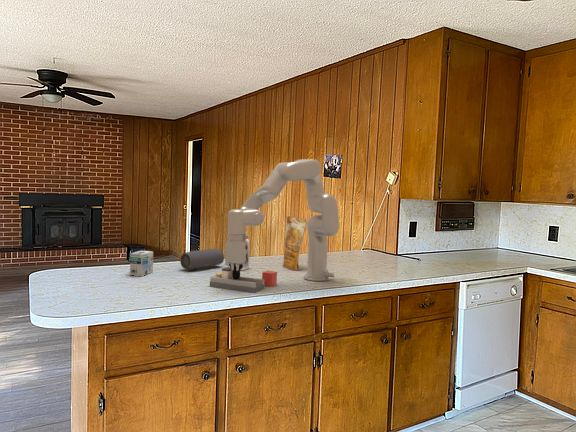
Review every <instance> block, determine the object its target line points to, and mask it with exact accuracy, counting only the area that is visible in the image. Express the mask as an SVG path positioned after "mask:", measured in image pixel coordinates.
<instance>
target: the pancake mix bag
mask: <svg viewBox="0 0 576 432" xmlns="http://www.w3.org/2000/svg"><path fill="white" fill-rule="evenodd" d="M285 219H286V224H285V225H286V226H285V237H284V252H283V253H284V254H283V264H282V266H283V267H284V268H285V269H288V270H290V271H299V268H300V267H299V258H300V252H301V247H302V242H303V239H304V233H305V230H306V227H307V220H306V219H304V218H300V217H299V218H298V217H295V216H286V218H285Z"/></svg>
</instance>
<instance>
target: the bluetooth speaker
mask: <svg viewBox="0 0 576 432" xmlns="http://www.w3.org/2000/svg"><path fill="white" fill-rule="evenodd" d="M179 261H180V262H179V263H180V265H181V267H182V268H183V269H185V270H194V271H201V270H202V271H203V270H206V269H211V268H212V267H214V266H218V265H221V264H223V262H225V253H224V252H223V250H222V249H219V248H208V249H200V250H192V251H188V252H187V251H186V252H183V253H182V254H181V256H180V259H179Z"/></svg>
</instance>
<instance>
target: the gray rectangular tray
mask: <svg viewBox="0 0 576 432" xmlns="http://www.w3.org/2000/svg"><path fill="white" fill-rule="evenodd" d="M209 278H210V279H209V287H211V288H212V287H213V288H219V289H224V290H225V289H226V290H231V291H239V292H245V293H253V294H255V293H256V292H257V293H258V292H259V291H261V290H263V289H265V287H266V286H265V284H264V279H262V278H255V277H249V276H248V277H247V276H243V275H242V276H241V275H240V278H239V279H237V280H235V279H234V280H232V279H225V278H222V272H216V273H215V275H213V276H211V277H209Z"/></svg>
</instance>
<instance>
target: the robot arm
mask: <svg viewBox="0 0 576 432" xmlns="http://www.w3.org/2000/svg"><path fill="white" fill-rule="evenodd" d="M322 167H323V166H322V164H321V162H320V161H319V160H317V159H315V158H313V159H312V158H310V159H308V158H306V159H304V158H303V159H296V160H294V161H289V162H286V161H283V162H280V163H278V164H276V166H275V167H274V169H272V171H271V172H270V174H269V175H268V177H267V179H266V180H265V181H264V183H263V184H262V185H261V186H260V187H259V188H258V189H256V191H254V192H253V193H251V195H250V196H249V197H248V198H247V199H246V200H245V201H244V202H243V205H241V207H240V209H239V208H238V209H236V208H235V209H230V210H229V211H228V212H227V213H228V214H227V240H226V242H225V248H224V264H225V265H226V266H227V267H230V268H231V270H233V275H232V276H233V279H235V280H237V279H239V278H240V276H241V271H242V270H241V269H242V268H243V267H247V266H248V263H247V262H249V263H250V249H249V250H248V243H247V241H245V240H246V239H248V240H249V237H248V235H246V234H247V233H246V226H250V227H257V226H260V225H262V224H263V222H264V221H265V216H264V215H265V214H264V213H263V212H262V211H261V210H260V208H261V207H262V206H263V205H265V204H267V203H269V202H271V201H273V200H275V199H276V198H278V197H279V195H280V194H281V192H282V191H283V189H284V188H285V187H286V185H287V183H288V182H298V181H302V182H303V183H304V186H305V193H306V201H307V206H308V209H309V211H310V212H313V213H317V214H314V215H312V216H310V217H309V218H308V221H307V222H306V227H307V235H308V245H307V247H308V248H307V250H308V251H307V269H306V271H307V272H306V274H304V275H303V278H304V279H305V280H307V281H313V282H326V281H329V280H330V278H335V273H334V272H329V269H327V268H328V267H327V266H328V248H329V245H328V244H329V242H328V237H335V236H336V235H337V234H338V232H339V230H340V217H339V207H338V206H339V205H338V201H337V199H336V197H335V196H334V195H332V194H330V193H325V188H324V183H323V179H322V176H321V173H322V169H323V168H322ZM236 264H237V266H236Z"/></svg>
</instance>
